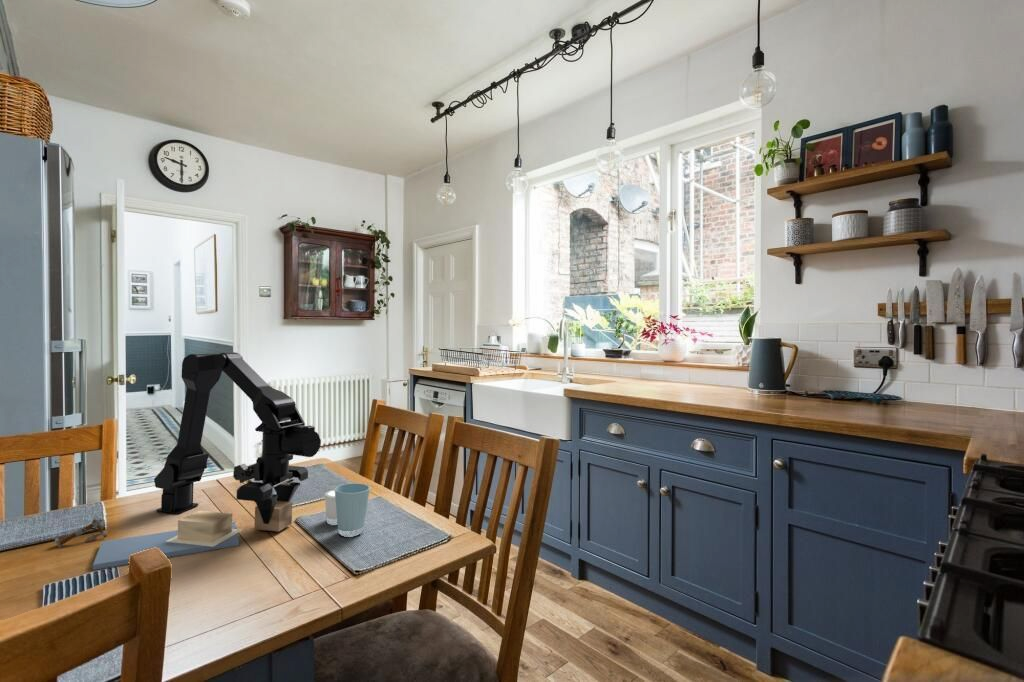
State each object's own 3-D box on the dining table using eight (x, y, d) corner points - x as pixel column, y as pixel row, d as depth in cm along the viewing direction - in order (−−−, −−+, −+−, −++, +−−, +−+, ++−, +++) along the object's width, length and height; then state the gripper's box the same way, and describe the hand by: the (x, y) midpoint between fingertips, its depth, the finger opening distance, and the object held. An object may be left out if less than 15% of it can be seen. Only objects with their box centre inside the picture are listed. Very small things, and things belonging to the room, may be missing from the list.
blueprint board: (91, 572, 93) (92, 566, 93) (102, 544, 104) (102, 539, 104) (245, 546, 106) (245, 540, 106) (239, 523, 118) (239, 519, 118)
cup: (350, 542, 110) (352, 495, 110) (325, 535, 113) (327, 489, 113) (375, 531, 117) (376, 486, 117) (350, 524, 120) (352, 481, 120)
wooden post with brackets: (112, 534, 107) (101, 517, 106) (66, 558, 103) (54, 540, 102) (111, 531, 109) (101, 514, 108) (66, 555, 104) (54, 537, 103)
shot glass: (359, 519, 124) (360, 491, 124) (339, 528, 117) (340, 499, 117) (338, 514, 126) (339, 486, 126) (317, 523, 120) (318, 494, 120)
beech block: (199, 528, 112) (199, 510, 112) (231, 531, 111) (232, 513, 111) (177, 539, 106) (178, 520, 106) (211, 542, 105) (212, 523, 105)
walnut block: (268, 521, 119) (268, 500, 119) (291, 523, 118) (292, 502, 118) (254, 529, 114) (255, 507, 114) (278, 531, 113) (279, 509, 113)
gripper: (268, 441, 126) (266, 503, 126) (214, 458, 107) (212, 531, 108) (310, 444, 124) (308, 507, 125) (262, 462, 106) (259, 536, 106)
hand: (273, 519), depth 116 cm, fingers closed on walnut block, 5 cm apart
